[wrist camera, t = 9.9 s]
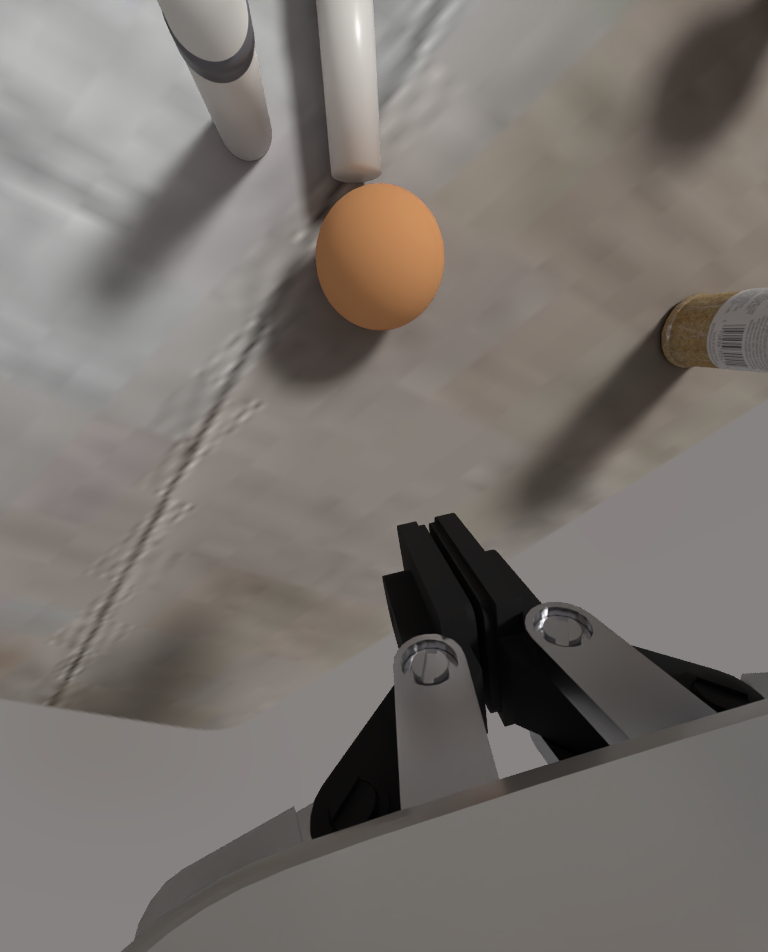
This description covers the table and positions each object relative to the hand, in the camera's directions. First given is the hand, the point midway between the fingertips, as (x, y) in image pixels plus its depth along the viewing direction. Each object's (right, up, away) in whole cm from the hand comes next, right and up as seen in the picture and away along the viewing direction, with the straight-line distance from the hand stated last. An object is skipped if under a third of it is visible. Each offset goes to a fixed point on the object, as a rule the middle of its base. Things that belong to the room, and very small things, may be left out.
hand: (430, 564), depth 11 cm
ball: (-2, +13, +7) cm, 15 cm away
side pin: (-8, +19, +7) cm, 22 cm away
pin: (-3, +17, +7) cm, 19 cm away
